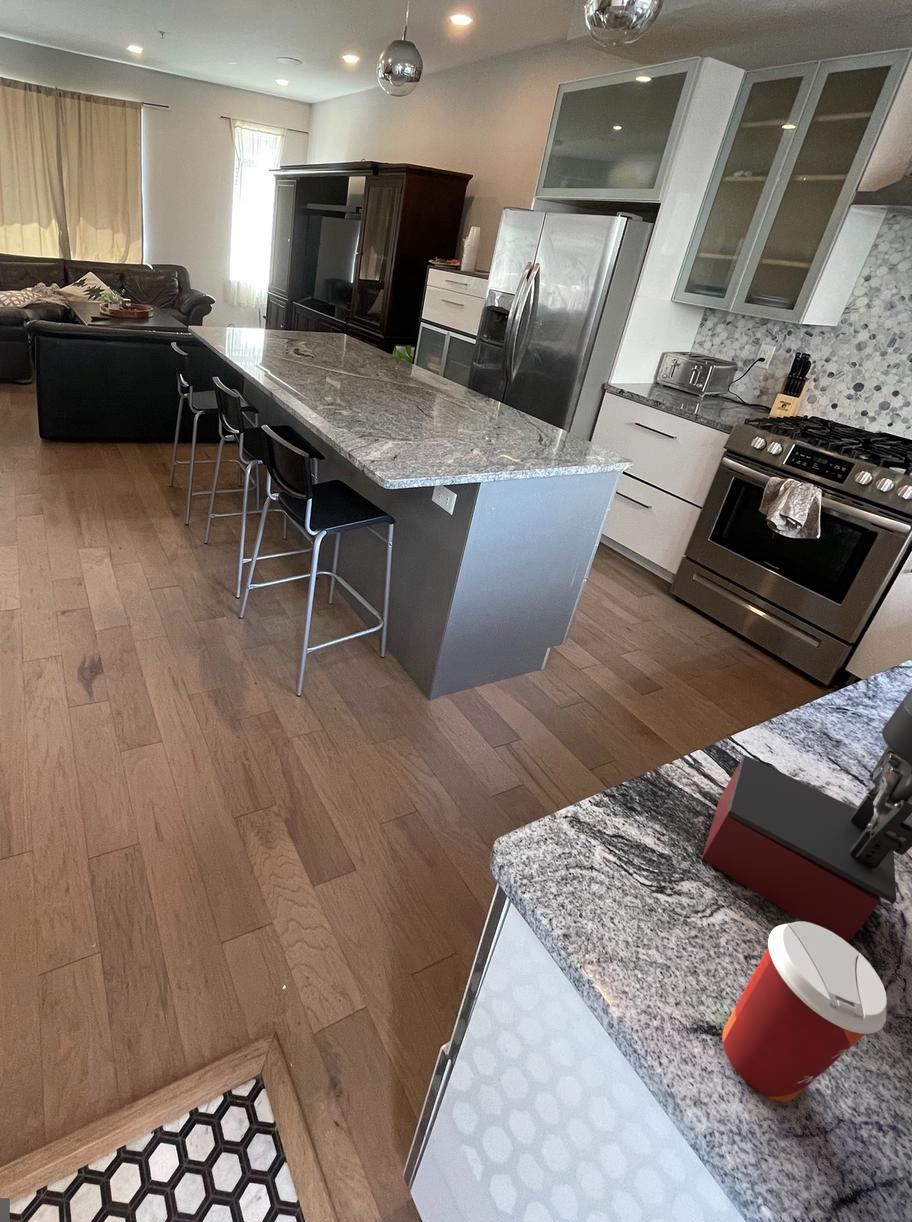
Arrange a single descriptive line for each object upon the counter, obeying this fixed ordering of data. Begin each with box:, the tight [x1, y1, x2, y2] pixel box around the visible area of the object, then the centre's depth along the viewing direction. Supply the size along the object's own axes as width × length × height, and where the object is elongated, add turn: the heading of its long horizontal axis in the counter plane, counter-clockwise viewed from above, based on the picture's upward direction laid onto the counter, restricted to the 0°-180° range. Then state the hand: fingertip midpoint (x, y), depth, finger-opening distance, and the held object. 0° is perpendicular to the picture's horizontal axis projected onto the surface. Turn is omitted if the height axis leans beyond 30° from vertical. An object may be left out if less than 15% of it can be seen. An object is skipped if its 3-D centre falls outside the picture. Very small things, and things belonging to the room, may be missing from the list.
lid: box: [727, 754, 897, 905], centre depth 67 cm, size 14×12×5 cm
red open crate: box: [701, 759, 881, 944], centre depth 70 cm, size 14×12×8 cm
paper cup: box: [721, 921, 888, 1103], centre depth 51 cm, size 8×8×14 cm
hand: (861, 842), depth 66 cm, fingers closed on lid, 5 cm apart
